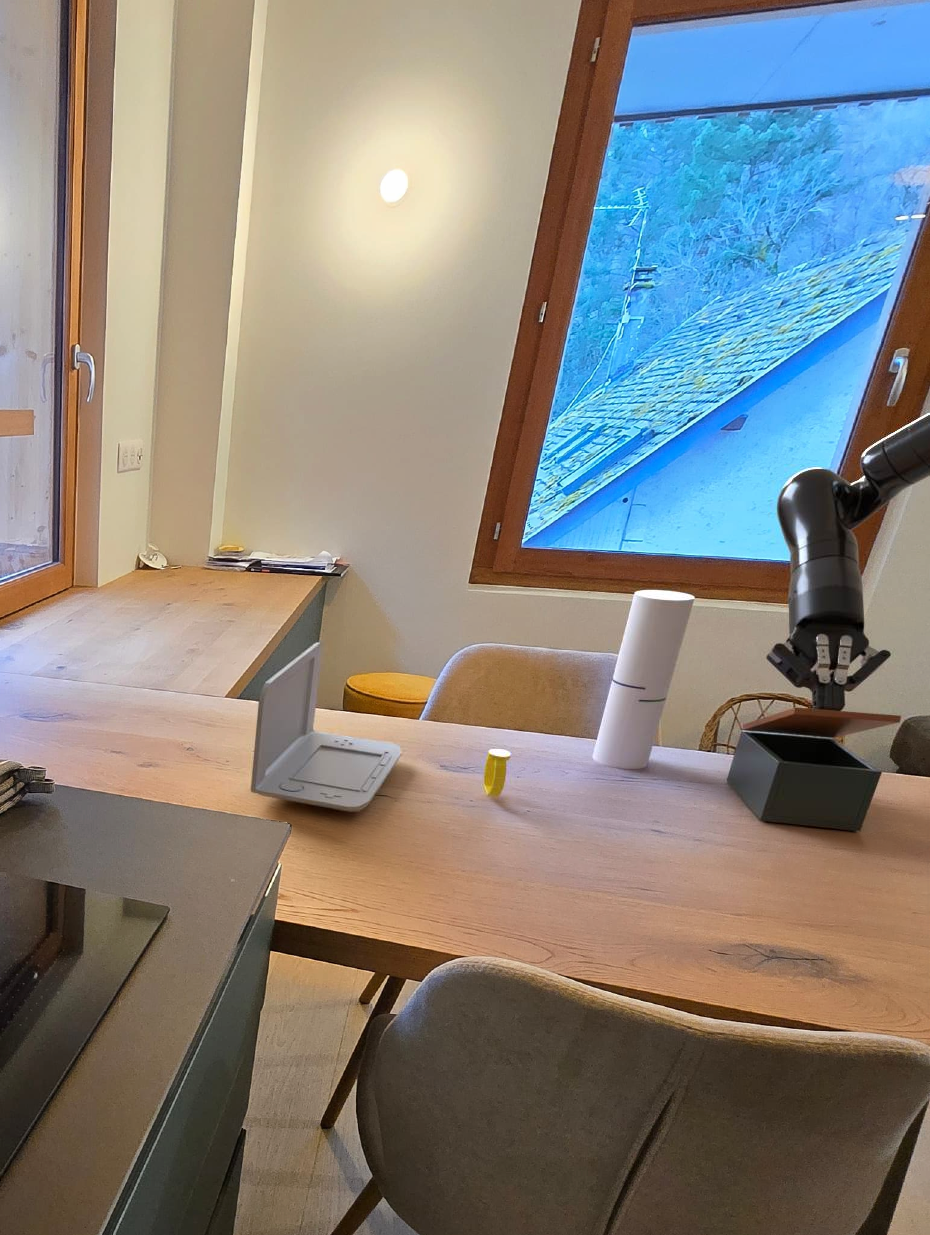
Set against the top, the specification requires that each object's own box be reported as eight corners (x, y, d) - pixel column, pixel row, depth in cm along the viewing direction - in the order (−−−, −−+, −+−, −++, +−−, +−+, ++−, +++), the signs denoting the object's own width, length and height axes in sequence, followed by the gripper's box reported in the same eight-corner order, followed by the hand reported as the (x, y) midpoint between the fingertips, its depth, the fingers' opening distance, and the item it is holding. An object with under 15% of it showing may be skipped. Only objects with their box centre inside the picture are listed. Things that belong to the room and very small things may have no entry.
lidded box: (860, 831, 119) (882, 771, 116) (759, 820, 123) (778, 762, 120) (814, 792, 133) (833, 738, 130) (725, 783, 136) (741, 730, 133)
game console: (362, 817, 123) (378, 702, 116) (250, 796, 130) (260, 686, 123) (405, 751, 144) (422, 650, 138) (308, 736, 151) (319, 639, 145)
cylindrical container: (595, 752, 148) (637, 588, 137) (648, 761, 144) (696, 593, 133) (588, 766, 143) (631, 596, 132) (643, 776, 139) (692, 602, 128)
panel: (900, 722, 114) (901, 715, 114) (794, 713, 117) (795, 707, 117) (833, 738, 130) (834, 732, 129) (741, 730, 133) (742, 724, 133)
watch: (475, 784, 134) (484, 743, 132) (497, 785, 134) (505, 745, 131) (483, 800, 129) (492, 758, 127) (506, 801, 129) (515, 760, 126)
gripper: (778, 580, 125) (780, 693, 119) (903, 585, 120) (911, 703, 115) (753, 615, 131) (754, 724, 125) (870, 621, 127) (877, 735, 121)
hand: (829, 714), depth 120 cm, fingers closed
